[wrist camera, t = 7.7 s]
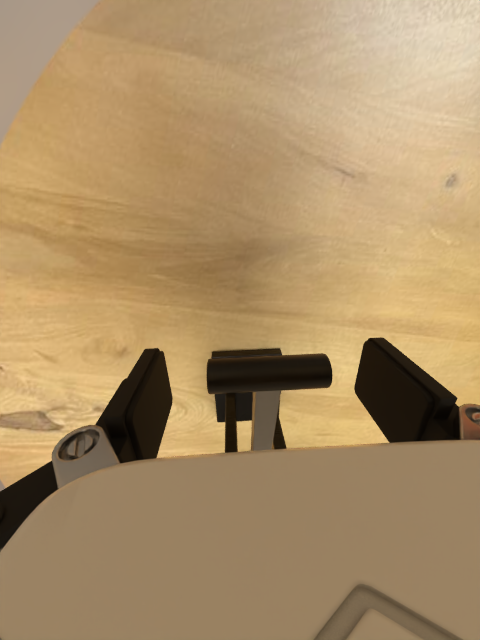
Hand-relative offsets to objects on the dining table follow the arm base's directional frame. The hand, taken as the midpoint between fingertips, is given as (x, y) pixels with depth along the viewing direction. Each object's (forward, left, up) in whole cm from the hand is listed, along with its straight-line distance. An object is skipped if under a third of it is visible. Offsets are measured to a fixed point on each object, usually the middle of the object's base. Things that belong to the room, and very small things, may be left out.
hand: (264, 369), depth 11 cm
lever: (+5, -3, -2) cm, 7 cm away
